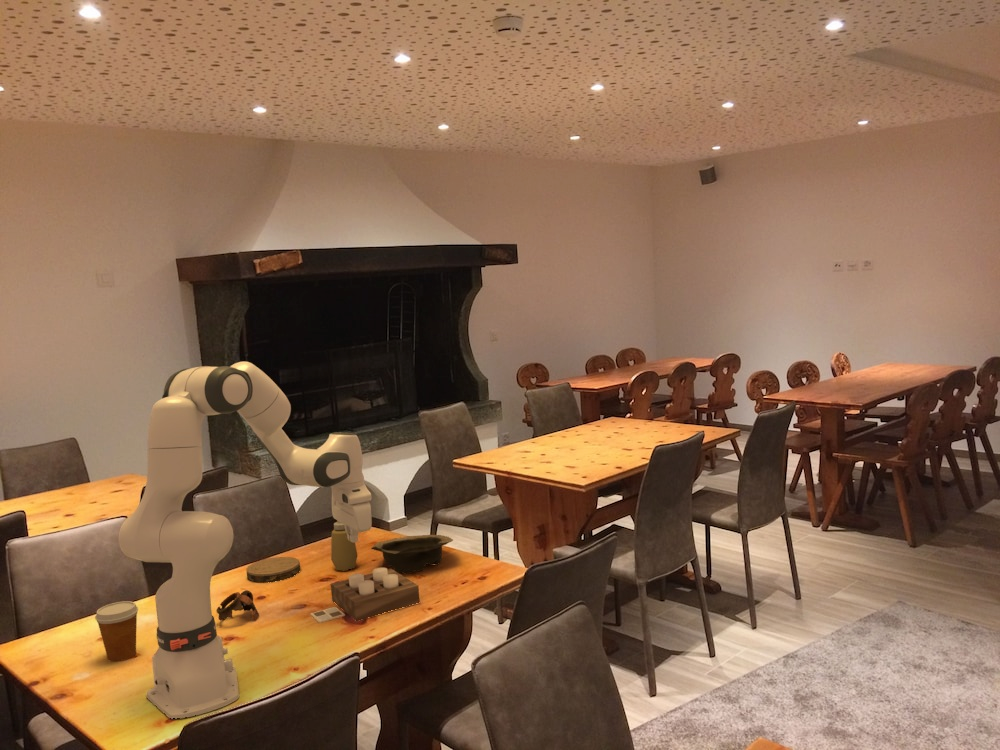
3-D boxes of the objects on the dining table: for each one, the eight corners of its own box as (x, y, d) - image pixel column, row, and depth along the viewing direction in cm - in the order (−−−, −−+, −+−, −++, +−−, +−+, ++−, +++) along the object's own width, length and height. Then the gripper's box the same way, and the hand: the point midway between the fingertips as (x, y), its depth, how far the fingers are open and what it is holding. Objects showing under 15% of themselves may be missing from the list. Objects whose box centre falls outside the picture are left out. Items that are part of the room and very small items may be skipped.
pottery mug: (255, 627, 212) (235, 604, 209) (227, 642, 214) (207, 619, 211) (269, 598, 223) (250, 576, 221) (242, 613, 225) (223, 591, 223)
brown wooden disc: (254, 588, 241) (253, 578, 241) (241, 573, 255) (240, 564, 254) (307, 575, 249) (306, 566, 248) (292, 562, 262) (291, 553, 262)
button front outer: (401, 594, 220) (400, 576, 219) (388, 598, 218) (386, 580, 217) (395, 590, 223) (394, 572, 223) (382, 594, 221) (380, 576, 221)
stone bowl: (405, 583, 234) (400, 552, 234) (359, 571, 253) (355, 542, 253) (471, 559, 250) (467, 530, 250) (424, 550, 269) (420, 522, 269)
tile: (345, 615, 214) (344, 614, 214) (319, 623, 210) (319, 621, 210) (335, 608, 220) (335, 606, 220) (310, 614, 216) (310, 613, 216)
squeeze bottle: (356, 571, 248) (350, 514, 246) (329, 573, 248) (324, 515, 246) (360, 563, 256) (355, 507, 254) (335, 564, 256) (329, 508, 254)
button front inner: (377, 601, 216) (375, 583, 216) (363, 605, 214) (361, 586, 214) (371, 597, 220) (370, 579, 219) (357, 600, 218) (356, 582, 217)
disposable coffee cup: (115, 667, 192) (109, 618, 191) (92, 660, 197) (86, 612, 196) (151, 651, 200) (146, 603, 199) (127, 644, 205) (122, 598, 204)
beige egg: (391, 587, 226) (389, 570, 225) (377, 591, 224) (376, 573, 223) (385, 583, 229) (383, 566, 229) (371, 587, 227) (370, 569, 227)
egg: (367, 594, 222) (365, 576, 222) (353, 597, 220) (351, 579, 220) (361, 589, 226) (360, 572, 225) (348, 593, 224) (346, 575, 223)
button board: (419, 603, 219) (418, 585, 218) (356, 621, 210) (354, 602, 209) (392, 585, 234) (390, 568, 234) (332, 601, 225) (330, 583, 224)
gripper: (324, 486, 227) (328, 535, 229) (351, 499, 210) (355, 552, 211) (345, 482, 230) (349, 530, 232) (374, 495, 213) (378, 546, 214)
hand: (352, 541), depth 221 cm, fingers closed
